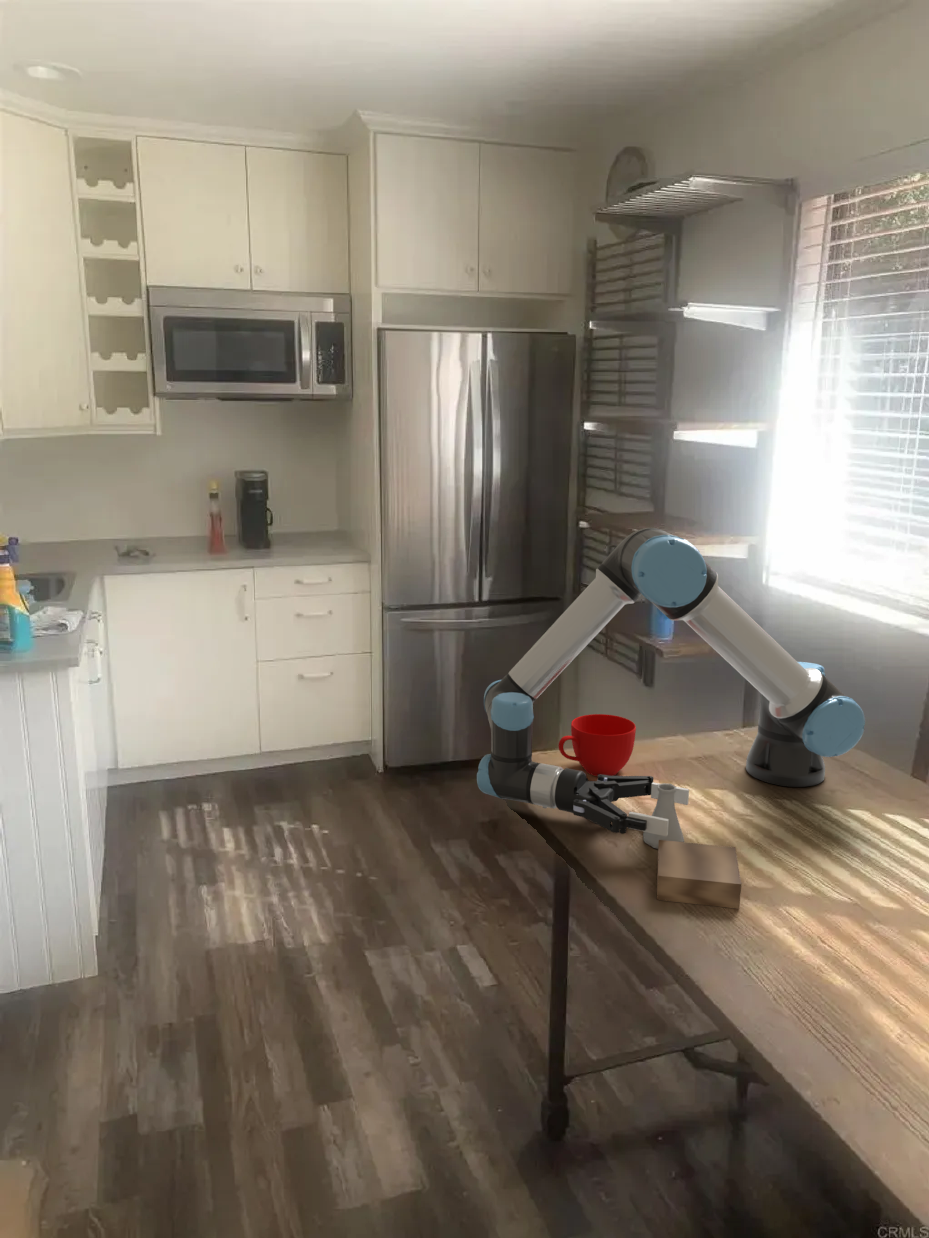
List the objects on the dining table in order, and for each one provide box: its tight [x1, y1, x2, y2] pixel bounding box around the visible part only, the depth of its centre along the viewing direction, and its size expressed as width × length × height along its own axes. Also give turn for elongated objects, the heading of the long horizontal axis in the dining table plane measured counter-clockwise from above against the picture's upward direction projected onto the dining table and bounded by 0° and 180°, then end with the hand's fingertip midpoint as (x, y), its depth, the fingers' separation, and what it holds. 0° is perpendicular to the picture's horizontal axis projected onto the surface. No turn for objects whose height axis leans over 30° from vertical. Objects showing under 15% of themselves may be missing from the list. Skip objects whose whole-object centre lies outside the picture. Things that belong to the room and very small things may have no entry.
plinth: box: [656, 840, 742, 910], centre depth 143 cm, size 12×12×4 cm
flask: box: [642, 782, 685, 849], centre depth 156 cm, size 7×7×10 cm
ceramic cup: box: [558, 713, 637, 777], centre depth 186 cm, size 13×17×10 cm
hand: (678, 811), depth 155 cm, fingers open, 13 cm apart
